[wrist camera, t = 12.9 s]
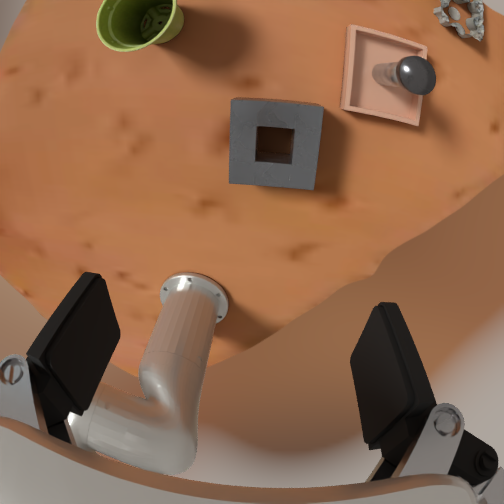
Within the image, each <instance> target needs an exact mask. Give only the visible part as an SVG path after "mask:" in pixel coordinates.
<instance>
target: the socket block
mask: <svg viewBox="0 0 504 504" xmlns="http://www.w3.org/2000/svg"><path fill="white" fill-rule="evenodd" d="M323 110H324V107H323V106H321V105H319V104H316V103H308V102H299V101H289V100H277V99H263V98H241V97H236V98H234V99H231V114H230V153H229V184H246V185H260V186H274V187H285V188H296V189H307V190H314V184H315V177H316V169H317V162H318V154H319V146H320V137H321V129H322V119H323ZM259 126H265V127H279V128H290V129H292V134H291V145H290V154H286V153H274V152H261V151H257V147H258V129H259Z"/></svg>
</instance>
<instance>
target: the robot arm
mask: <svg viewBox="0 0 504 504" xmlns="http://www.w3.org/2000/svg"><path fill="white" fill-rule="evenodd" d="M160 299H161V302H162V305H163V307H162V310H161V312H160V314H159V317H158V319H157V322H156V324H155V327H154V329H153V332H152V334H151V337H150V339H149V342H148V344H147V347H146V349H145V352H144V355H143V357H142V360H141V363H140V366H139V381H140V385H141V388H142V390H143V393H144V395H145V397H146V399H144V398H141V397H137V396H134V395H132V394H129V393H127V392H124V391H122V390H119V389H117V388H115V387H112V386H110V385H108V384H105V383H103V382H101V378H102V376H103V374H104V371H105V369H106V367H107V365H108V363H109V361H110V358H111V356H112V354H113V352H114V350H115V348H116V346H117V344H118V342H119V339H120V328H119V325H118V322H117V319H116V316H115V313H114V309H113V306H112V303H111V299H110V296H109V292H108V289H107V285H106V282H105V280H104V279H102V276H101V275H100V274H97V273H90V272H85V273H83V274H82V276H81V277H80V278H79V279H78V281H77V282H76V283H75V285H74V286H73V287H72V288H71V290H70V291H69V292H68V294H67V295H66V296H65V298H64V299H63V300H62V302H61V303H60V304H59V306H58V307H57V309H56V310H55V311H54V313H53V314H52V316H51V317H50V318H49V320H48V322H47V323H46V324H45V326H44V328H43V329H42V330H41V332H40V333H39V335H38V336H37V338H36V339H35V341H34V342H33V344H32V345H31V347H30V348H29V350H28V352H27V353H26V354H27V356H28V357H27V359H26V360H25V358H24V357H22V356H21V355H16V354H15V355H10V356H8V357H6V358H4V359H3V360H2V361H1V362H0V504H504V470H503V468H502V467H500V468H498V456H497V453H496V451H495V450H494V449H493V448H492V447H491V446H489V445H488V444H486V443H485V442H483V441H482V440H480V439H478V438H477V437H475V436H474V435H472V434H471V433H469V432H467V431H466V430H464V425H465V424H464V418H463V416H462V414H461V412H460V411H459V409H458V408H456V407H455V406H454V405H452V404H449V403H442V404H438V405H437V404H436V401H435V398H434V394H433V392H432V389H431V386H430V383H429V380H428V377H427V375H426V372H425V369H424V367H423V364H422V361H421V359H420V356H419V354H418V351H417V349H416V346H415V344H414V341H413V339H412V336H411V334H410V332H409V329H408V327H407V325H406V322H405V320H404V318H403V316H402V314H401V311H400V309H399V307H398V305H397V304H396V303H391V302H380V303H379V304H378V306H375V307H374V308H373V310H372V312H371V315H370V317H369V319H368V321H367V323H366V326H365V328H364V330H363V332H362V334H361V336H360V338H359V341H358V343H357V345H356V347H355V349H354V351H353V353H352V355H351V359H350V364H351V369H352V375H353V379H354V385H355V390H356V395H357V401H358V407H359V412H360V419H361V425H362V431H363V438H364V442H365V443H366V444H368V445H369V450H373V449H381V452H382V458H381V459H380V461H379V462H378V464H377V465H376V467H375V468H374V470H373V471H372V473H371V474H370V476H369V477H368V479H367V480H366V482H365V483H357V484H349V485H339V486H328V487H312V488H258V487H257V488H256V487H242V486H231V485H221V484H213V483H206V482H200V481H194V480H187V479H182V478H178V477H173V476H168V475H175V474H180V473H182V472H185V471H186V470H188V469H189V468H190V467H191V466H192V464H193V462H194V460H195V457H196V452H197V441H198V439H197V438H198V437H197V436H198V433H197V431H198V430H197V429H198V426H197V425H198V409H199V402H200V396H201V390H202V385H203V380H204V376H205V371H206V366H207V362H208V357H209V352H210V348H211V343H212V339H213V334H214V330H215V325H216V323H218V322H220V321H221V320H222V319H223V318H224V317H225V316H226V314H227V311H228V306H229V303H228V298H227V295H226V293H225V291H224V290H223V289H222V287H221V286H220V285H218V284H217V283H216V282H215V281H213V280H212V279H210V278H208V277H206V276H204V275H200V274H197V273H190V272H187V273H178V274H175V275H172V276H171V277H169V278H168V279H167V280H166V281H165V282H164V283H163V285H162V287H161V291H160ZM95 451H98V452H100V453H102V454H105V455H107V456H109V457H112V458H114V459H117V460H119V461H121V462H124V463H126V464H129V465H132V466H135V467H132V466H129V465H126V464H123V463H120V462H117V461H114V460H110V459H108V458H105V457H102V456H100V455H98V454H97V453H96V452H95ZM136 467H138V468H136ZM140 468H141V469H140ZM164 474H166V475H164Z"/></svg>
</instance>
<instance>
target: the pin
mask: <svg viewBox="0 0 504 504" xmlns="http://www.w3.org/2000/svg"><path fill="white" fill-rule="evenodd" d="M372 76H373V79H374V80H375V81H376V82H377V83H378V84H380V85H384V86H393V87H402V88H403V89H405V90H406V91H407V92H409V93H412V94H417V95H426V94H428V93H430V92H431V91H432V90H433V88H434V87H435V83H436V75H435V71H434V69H433V67H432V66H431V64H430V63H429V62H428V61H427V60H426V59H424V58H422V57H420V56H407V57H404V58H402V59H401V60H400V61H399V62H390V63H380V64H377V65H375V66H374V67H373V69H372Z"/></svg>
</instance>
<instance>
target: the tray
mask: <svg viewBox="0 0 504 504" xmlns="http://www.w3.org/2000/svg"><path fill="white" fill-rule="evenodd" d="M407 56H420V57H422V58H424V59H427V47H426V46H424V45H421V44H418V43H416V42H413V41H410V40H407V39H404V38H401V37H398V36H394V35H391V34H388V33H384V32H381V31H377V30H373V29H369V28H365V27H361V26H357V25H352V24H351V25H349V26H348V27H346V41H345V56H344V69H343V80H342V91H341V101H340V108H341V109H344V110H349V111H354V112H360V113H365V114H370V115H375V116H379V117H384V118H388V119H392V120H396V121H400V122H404V123H408V124H412V125H416V126H418V125H419V119H420V113H421V106H422V99H423V95H417V94H412V93H409V92H407V91H406V90H405V89H403V88H402V87H393V86H384V85H380V84H378V83H377V82H376V81H375V80H374V79H373V76H372V69H373V67H374V66H375V65H377V64H380V63H390V62H399V61H400V60H401V59H402V58H404V57H407Z"/></svg>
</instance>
